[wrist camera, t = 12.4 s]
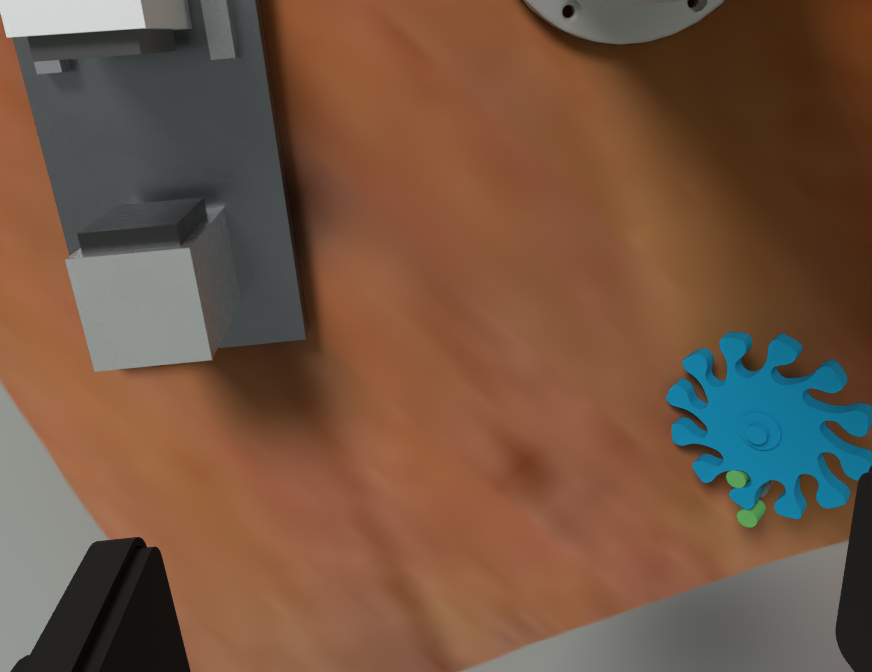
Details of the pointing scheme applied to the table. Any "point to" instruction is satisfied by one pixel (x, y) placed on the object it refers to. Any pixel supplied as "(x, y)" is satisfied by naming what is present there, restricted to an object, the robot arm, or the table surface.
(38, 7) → the block
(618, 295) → the table surface
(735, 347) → the gear
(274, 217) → the rail
